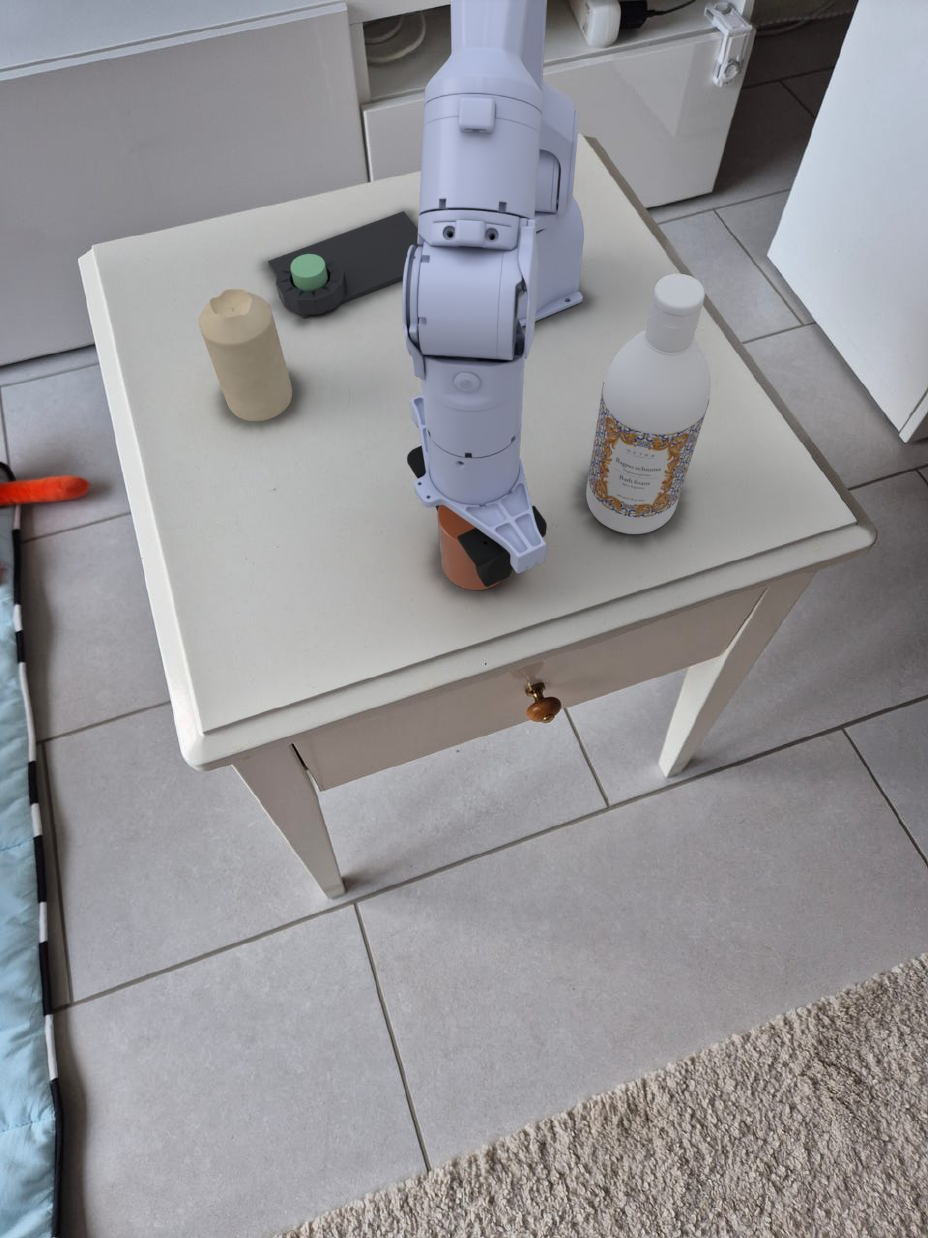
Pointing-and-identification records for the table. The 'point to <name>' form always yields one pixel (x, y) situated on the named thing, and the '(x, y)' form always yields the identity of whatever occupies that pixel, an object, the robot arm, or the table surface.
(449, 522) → the orange cylinder
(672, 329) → the bath foam
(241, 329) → the candle
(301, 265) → the button
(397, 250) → the scale
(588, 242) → the table surface
